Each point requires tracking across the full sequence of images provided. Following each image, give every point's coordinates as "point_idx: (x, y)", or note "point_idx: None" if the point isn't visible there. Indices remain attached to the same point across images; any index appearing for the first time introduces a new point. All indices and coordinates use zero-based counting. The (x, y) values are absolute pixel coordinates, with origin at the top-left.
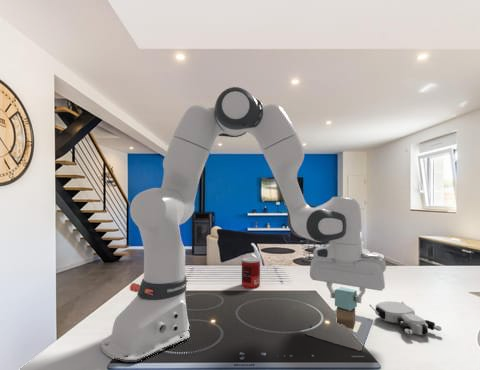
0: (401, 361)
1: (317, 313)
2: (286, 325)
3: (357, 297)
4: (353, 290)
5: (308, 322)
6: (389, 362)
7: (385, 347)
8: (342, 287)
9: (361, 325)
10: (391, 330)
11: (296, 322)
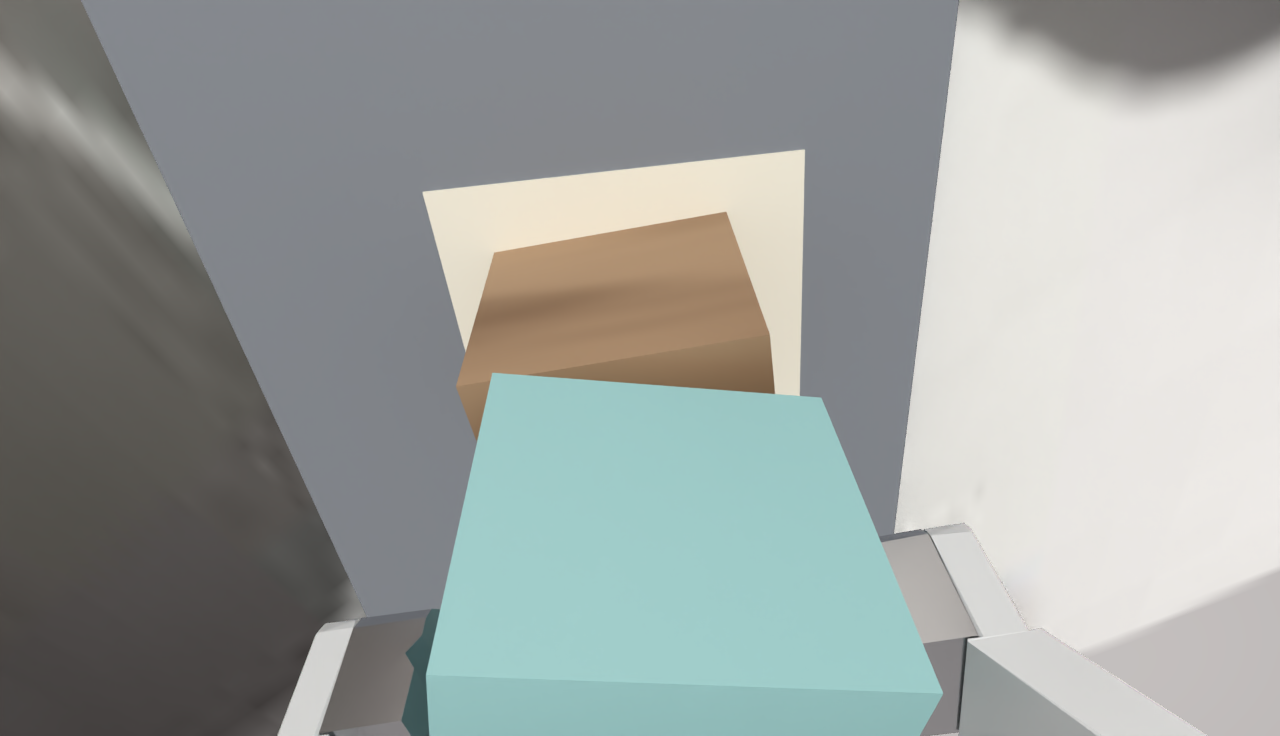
0: (1161, 589)
1: (122, 223)
2: (176, 667)
3: (934, 719)
4: (851, 732)
5: (261, 515)
6: (1068, 640)
7: (1068, 489)
8: (484, 715)
9: (818, 238)
10: (1228, 40)
11: (181, 582)
